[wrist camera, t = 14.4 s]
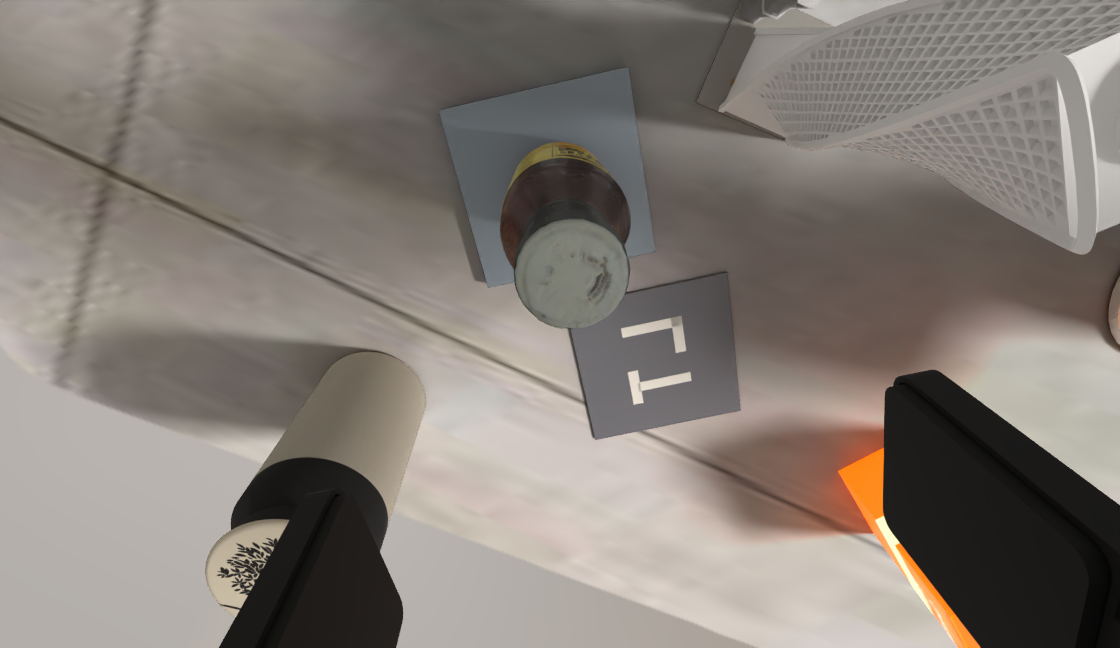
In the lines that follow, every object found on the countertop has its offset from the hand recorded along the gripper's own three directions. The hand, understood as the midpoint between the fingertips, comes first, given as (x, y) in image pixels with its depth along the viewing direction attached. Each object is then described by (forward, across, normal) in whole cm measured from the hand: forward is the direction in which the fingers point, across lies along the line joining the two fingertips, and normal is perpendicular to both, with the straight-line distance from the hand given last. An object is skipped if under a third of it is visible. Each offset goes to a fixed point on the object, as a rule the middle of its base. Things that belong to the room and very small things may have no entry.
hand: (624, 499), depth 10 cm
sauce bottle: (+31, 0, 0) cm, 31 cm away
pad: (+31, 0, 0) cm, 31 cm away
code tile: (+32, -5, +15) cm, 35 cm away
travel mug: (+32, +17, +13) cm, 38 cm away
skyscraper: (+32, -15, -3) cm, 36 cm away
